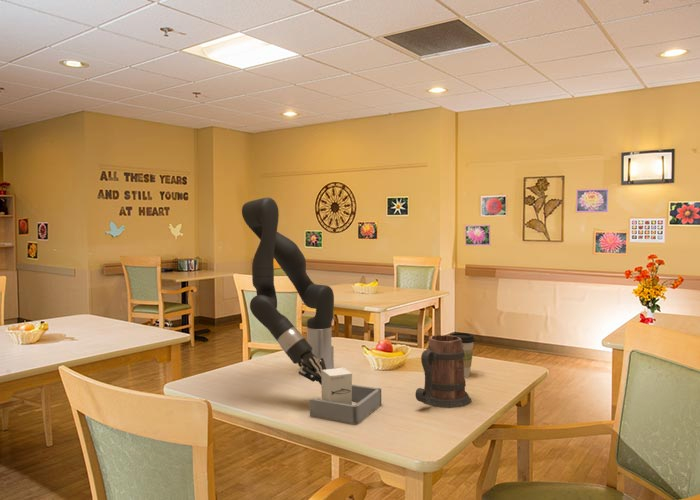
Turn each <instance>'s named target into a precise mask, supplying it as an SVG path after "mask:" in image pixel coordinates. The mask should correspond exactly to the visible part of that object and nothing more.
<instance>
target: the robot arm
mask: <svg viewBox="0 0 700 500" xmlns="http://www.w3.org/2000/svg"><path fill="white" fill-rule="evenodd" d="M241 214H242V218H243V221H244V222H245V224H246V225H247V226H248V228H249V230H251V231H252V233H254V235H256V236H257V238H259V240H260V242H259V244H258V246H257V249H256V251H255V253H254V255H253V258H252V264H251V273H252V274H251V279H252V286H253V287H254V288H255V290H256V295H255V296H253V297H252V298H251V300H250V302H249V308H250V312H251V314H252V315H253V316H254V318H255V319H256V320H257V321H259V322H260V324H262V325H263V326H264V327H265V328H266V329H267V330H268V331H269V333H270V334H271V336H272V337H273V338H274V339H275V340H276V341H277V343H278V344H279V345H278V346H280V348H281V350H283V352H284V353H285V354H286V355H287V357H288V358H289V359H290V360H291V362H292V363H293V364H296V365H297V364H298V366H299V368H300V369H299V371H298V374H299V375H300V376H302V377H303V378H306V379H307V380H309V381H311V382H315V381H316V382H318V383H319V384H320V386H322V380H321V379H322V377H321V370H326V369H335V368H334V366H335V363H334V361H335V359H334V356H335V355H334V353H335V352H334V351H335V350H334V348H335V347H334V346H333V345H332V322H333V318H334V311H335V310H334V308H335V305H334V304H335V295H334V291H333V288H332V287H330V286H329V285H325V284H317V283H314V282H313V281H312V280H311V278H310V277H309V275H308V273H307V263H306V262H307V261H306V258H305V255H304V254H303V252H302V251H301V249H300V247H299V246H298V245H297V244H296V243H295V242H294V241H293V240H291V238H288V237H287V236H285V235H283V234H282V233H280V232H279V231H278V225H279V215H280V214H279V207H278V204H277V202H276V201H275V199H273V198H271V197H262V198H259V199H254V200H250V201H246V202H245V203H244V204H243V205H242V207H241ZM275 261H276V263H277V264H278V266H279V267H280V269H281V270H282V271H283V272H284V274H285V275H286V276H287V278H288V279H289V280H290V282H291V283H292V285H293V286H294V288H295V290H296V292H297V294H298V295H299V297H300V299H301V301H302V303H303V304H304V305H305V306H306V307H308V308H310V309H315V314H314V316H313V317H310V318H308V319H307V322H306V338H305V337H304V336H303V335H302V333H301V332H300V331H299V330H298V329H297V328H296V326H294V324H293V323H292V322H291V321H290V320H289V319H288V317H286V316H285V315H284V314H281V312H280V311H279V310H278V296H277V292H276V291H277V290H276V287H275V282H274V281H275V279H274V277H275V276H274V275H275V273H274V272H275V269H274V266H275V265H274V262H275Z"/></svg>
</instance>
